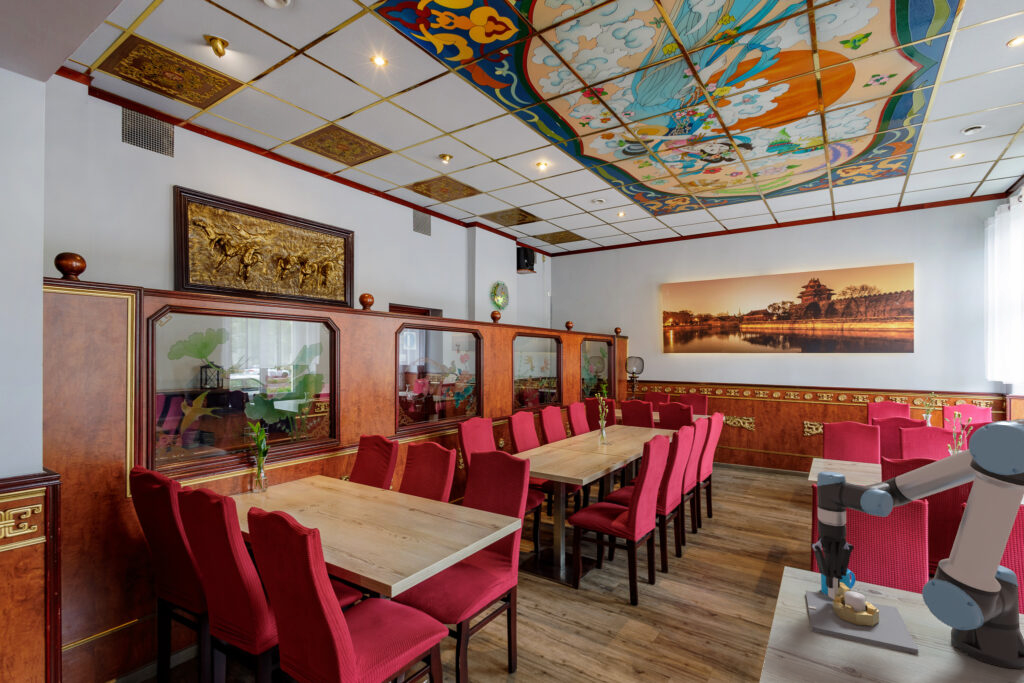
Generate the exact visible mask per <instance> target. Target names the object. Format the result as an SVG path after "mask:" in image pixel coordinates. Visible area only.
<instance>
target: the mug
mask: <svg viewBox="0 0 1024 683" xmlns="http://www.w3.org/2000/svg"><path fill="white" fill-rule="evenodd" d="M841 577H843V578H842V579H840V582H843V583H844V584H845V585H846V586H847V587H848V588H849V589H850V590H851V589H852V588H853V587H854V586H855V584H856V580H857V579H856V575H855V573H854V572H853V571H851V570H850V569H849V568H847V573H846V576H841ZM820 584H821V585H820V586H821V588H820V589H821V591H820V592H822V594H827V595H828V587H827V586H826V576H824V575H823V574H821V573H820Z"/></svg>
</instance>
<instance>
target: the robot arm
mask: <svg viewBox="0 0 1024 683" xmlns="http://www.w3.org/2000/svg"><path fill="white" fill-rule="evenodd" d="M816 477H817V481H816V489H817V493H816V494H817V518H818V520H817V533H818V534H819V536H818V538H817V542H816V543H813V542H812V543H811V544H810V547H811V548H812V550H813V551H814V552H813V553H814V556H815V561H816V563H817V567H818V571H819V572H818V573H819V574H820V575H821V574H823V575H824V576H826V586H827V587H828V596H829V597H831V598H832V599H835V597H834V595H835V594H838V588H839V587H840V579H842V578H843V577H841V576H846V573H847V569H849V568H848V567H849V563H850V558H851V554H852V552H853V551H854V550H855V547H854V545H853V544H851V543H849V542H847V539H846V537H847V525H846V524H847V509H850V510H854V511H858V512H861V513H863V514H864V513H865V514H868V515H870V516H876V517H881V518H885V517H888V516H889V515H890V514H891V512H892V511H893V508H895V507H901V506H905V505H907V504H908V503H911V502H914V501H917V500H920V499H923V498H925V497H929V496H932V495H935V494H937V493H941V492H944V491H946V490H950V489H953V488H956V487H959V486H961V485H964V484H967V483H970V482H973V483H972V487H971V490H970V492H969V495H968V498H967V501H966V505H965V507H964V511H963V513H962V517H961V521H960V522H959V526H958V529H957V533H956V536H955V539H954V541H953V545H952V548H951V551H950V554H949V557H948V558H944V559H941V560H939V561H938V563H937V568H936V571H935V572H934V573H935V574H934V577H933V579H929V580H928V581H927V582H925V584H924V585H923V587H922V592H921V595H922V599H923V602H924V604H925V605H926V607H927V608H928V610H929V612H930V613H931V614H932V615H933V616H934V617H935V618H936V619H937V620H939V621H940V622H941V623H943V624H945V625H946V626H948V627H951V631H950V640H951V643H952V644H953V646H955V647H956V649H958V650H959V651H961V652H962V653H964V654H966V655H967V656H970V657H972V658H973V659H976V660H979V661H981V662H983V663H986V664H991V665H992V666H993V665H994V666H997V667H1001V668H1007V669H1014V670H1022V669H1024V636H1023V633H1022V631H1021V629H1020V628H1021V626H1020V625H1021V624H1020V604H1019V586H1020V585H1019V583H1018V577H1017V574H1016V573H1015V572H1014V571H1013V570H1012V569H1010V568H1008V567H1006V566H1003V565H1000V564H1001V561H1002V559H1003V555H1004V553H1005V550H1006V546H1007V543H1008V542H1009V538H1010V535H1011V532H1012V529H1013V527H1014V524H1015V521H1016V518H1017V515H1018V512H1019V509H1020V507H1021V504H1022V501H1023V498H1024V418H1017V419H1016V418H1015V419H1011V420H1000V421H999V420H998V421H993V422H991V423H987V424H985V425H983V426H981V427H979V428H978V429H976V430H975V431H974V432H973V433H972V435H971V436H970V438H969V440H968V448H967V449H965V450H962V451H960V452H957V453H955V454H952V455H949V456H947V457H945V458H941V459H939V460H936V461H934V462H932V463H929V464H926V465H924V466H921V467H918V468H916V469H914V470H913V469H912V470H910V471H908V472H905V473H903V474H900V475H897V476H896V477H892V478H890V479H887V480H884V481H881V482H877V483H876V482H875V483H872V484H868V485H867V484H866V485H859V484H855V483H850V482H847V479H846V476H845V474H843V473H840V472H835V471H825V470H824V471H820V472H818V473H817V476H816Z"/></svg>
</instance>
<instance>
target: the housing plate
mask: <svg viewBox="0 0 1024 683" xmlns="http://www.w3.org/2000/svg"><path fill="white" fill-rule="evenodd" d="M805 597H806V604H807V609H808V614H809V615H808V617H809V621H810V628H811V632H816V633H818V634H824V635H828V636H833V637H837V638H843V639H847V640H850V641H855V642H861V643H865V644H870V645H874V646H877V647H884V648H888V649H893V650H897V651H902V652H906V653H912V654H915V655H919V648H918V646H917V644H916V642H915V640H914V639H913V637H912V634H911V633H910V631H909V629H908V627H907V625H906V623H905V621H904V619H903V617H902V615H901V613H900V611H899V609H898V608H897V606H891V605H886V604H881V603H875V602H870V601H868V602H869V603H871V604H872V605H873V606H874V607H875V608H877V610H879V622H878V623H876V624H875V625H874V626H867V625H856V624H854V623H851V622H849V621H846V620H844V619H841V618H839V617H838V616H837V614H836V613H835V612H834V611H833V600H834V599H832V598H831V597H829V596H828V595H827V594H824V593H823V592H822V593H821V592H817V591H811V590H805ZM865 599H866V596H865V595H863V594H862V593H860V592H857V591H853V590H850V591H846V592H845V605H846V604H849V605H852V606H853V610H854V611H862V612H866V607H865Z"/></svg>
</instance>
